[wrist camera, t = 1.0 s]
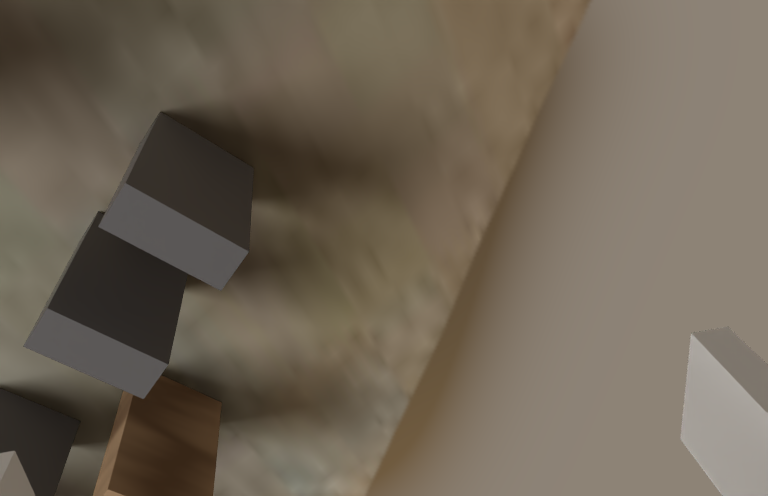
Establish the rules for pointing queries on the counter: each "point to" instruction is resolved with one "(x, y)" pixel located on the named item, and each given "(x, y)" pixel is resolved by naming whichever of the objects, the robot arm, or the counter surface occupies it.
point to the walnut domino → (162, 444)
